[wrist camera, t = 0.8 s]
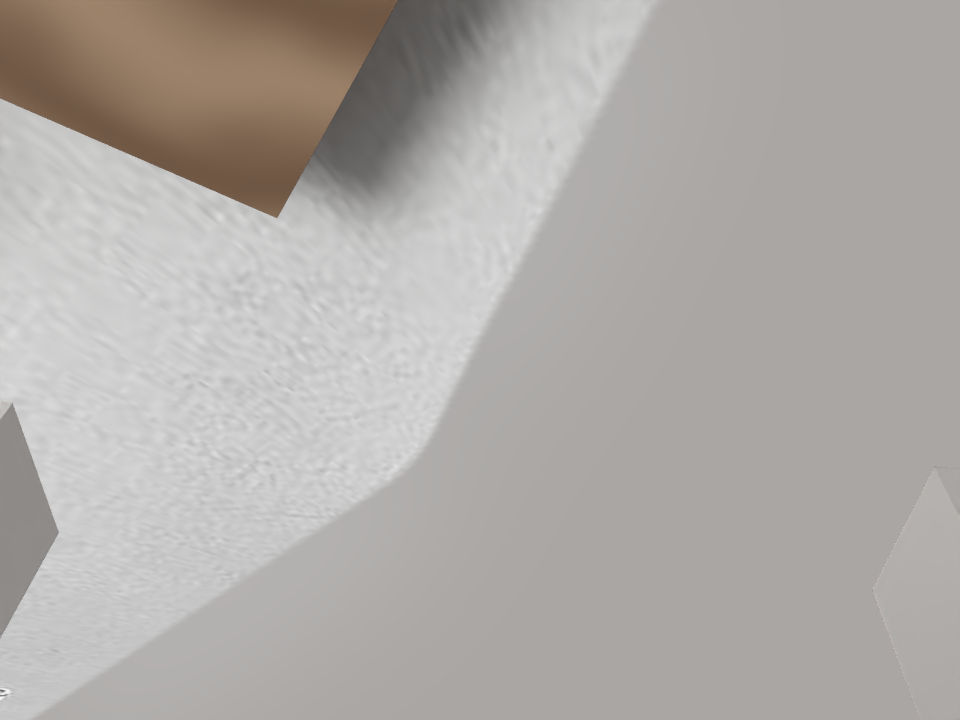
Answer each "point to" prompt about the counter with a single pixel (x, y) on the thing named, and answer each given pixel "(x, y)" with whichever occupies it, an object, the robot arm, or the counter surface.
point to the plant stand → (193, 80)
